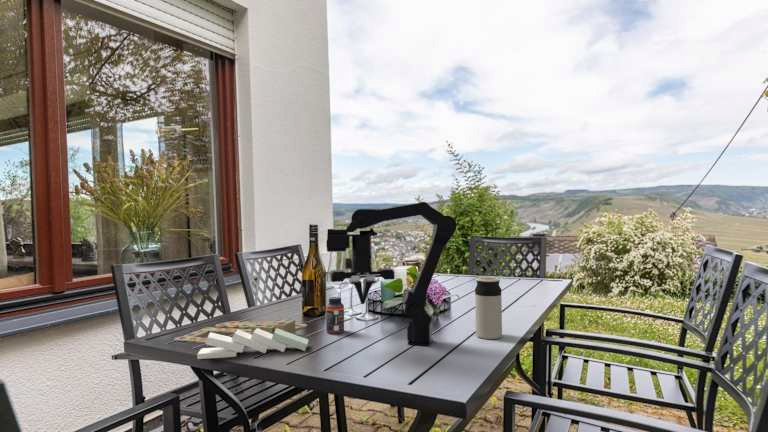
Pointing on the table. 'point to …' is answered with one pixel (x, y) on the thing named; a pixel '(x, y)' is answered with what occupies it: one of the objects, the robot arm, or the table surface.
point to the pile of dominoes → (243, 329)
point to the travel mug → (488, 308)
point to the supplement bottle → (335, 316)
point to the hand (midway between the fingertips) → (362, 303)
